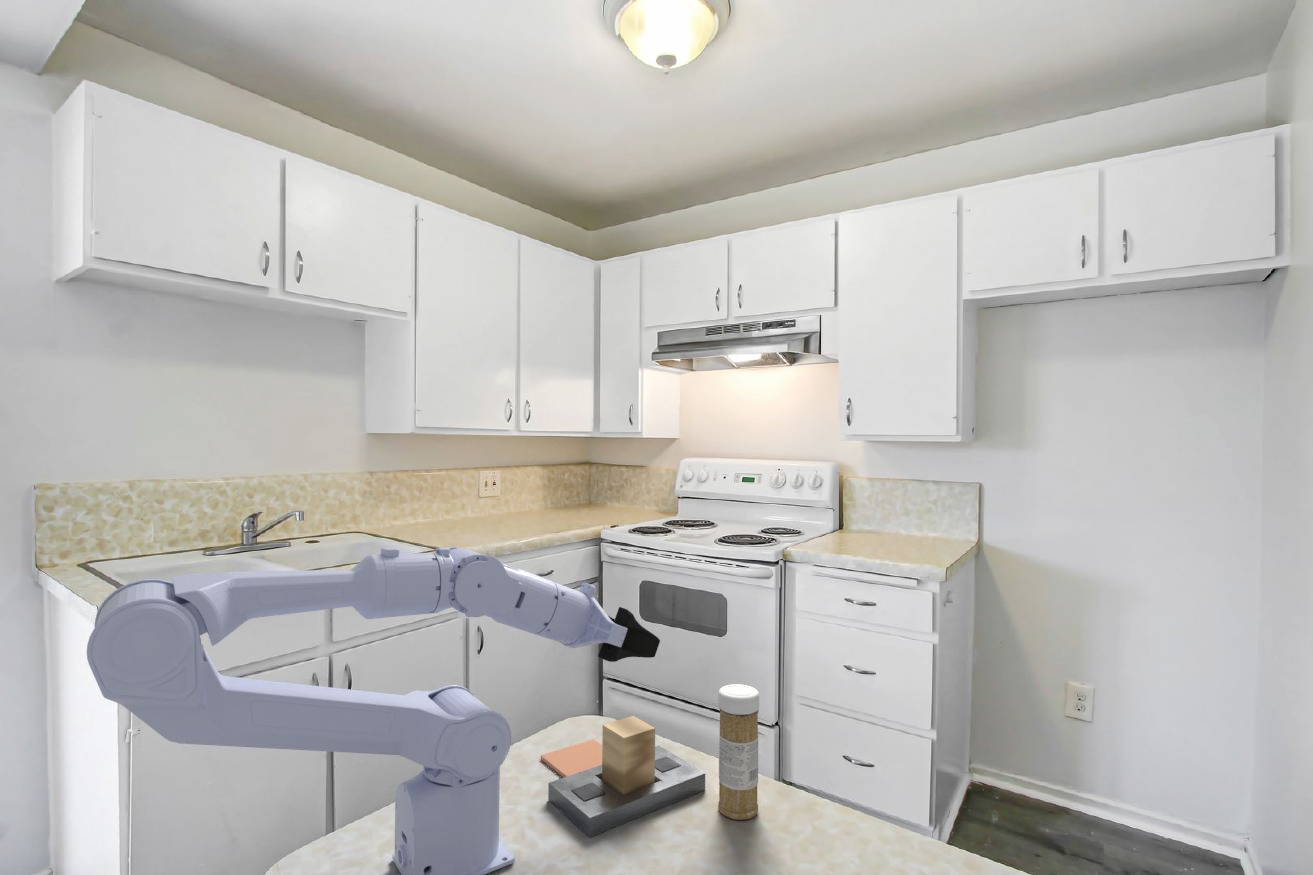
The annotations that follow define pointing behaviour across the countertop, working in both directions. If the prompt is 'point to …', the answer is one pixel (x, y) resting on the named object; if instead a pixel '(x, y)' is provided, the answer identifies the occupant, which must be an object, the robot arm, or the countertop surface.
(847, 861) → the countertop surface
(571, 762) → the tile
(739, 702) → the sprinkles bottle
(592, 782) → the square hole bar
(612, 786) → the wooden peg
